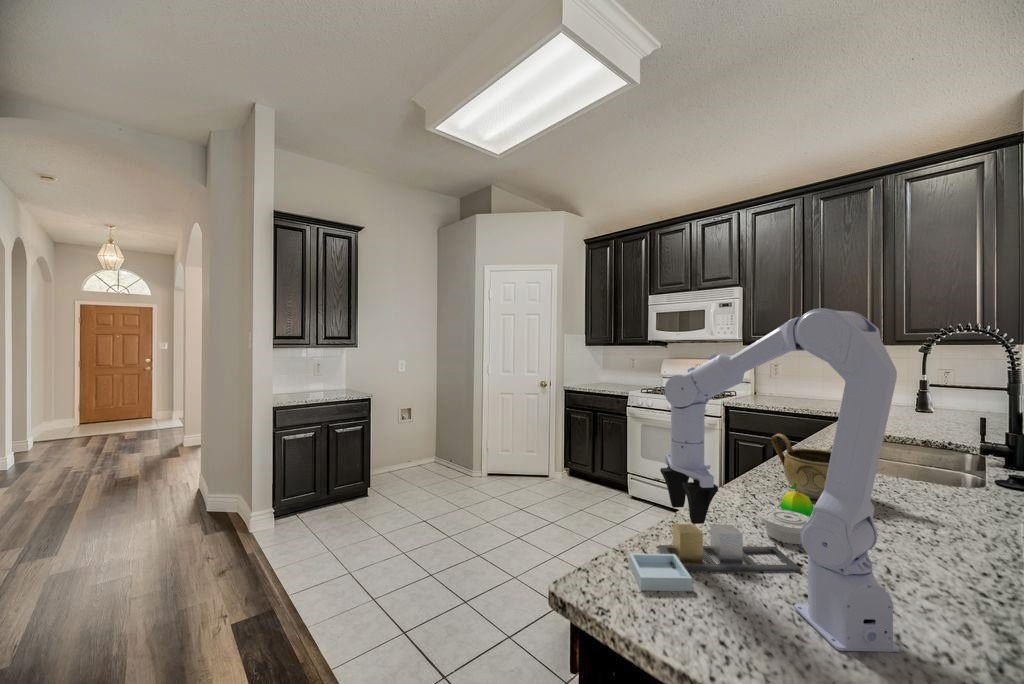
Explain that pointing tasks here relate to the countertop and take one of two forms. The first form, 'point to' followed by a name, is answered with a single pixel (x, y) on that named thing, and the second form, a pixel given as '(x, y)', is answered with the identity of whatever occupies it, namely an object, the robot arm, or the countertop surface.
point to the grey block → (726, 544)
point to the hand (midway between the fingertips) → (687, 514)
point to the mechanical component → (784, 525)
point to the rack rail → (747, 567)
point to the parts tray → (659, 572)
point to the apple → (797, 502)
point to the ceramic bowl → (804, 467)
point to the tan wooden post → (688, 543)
